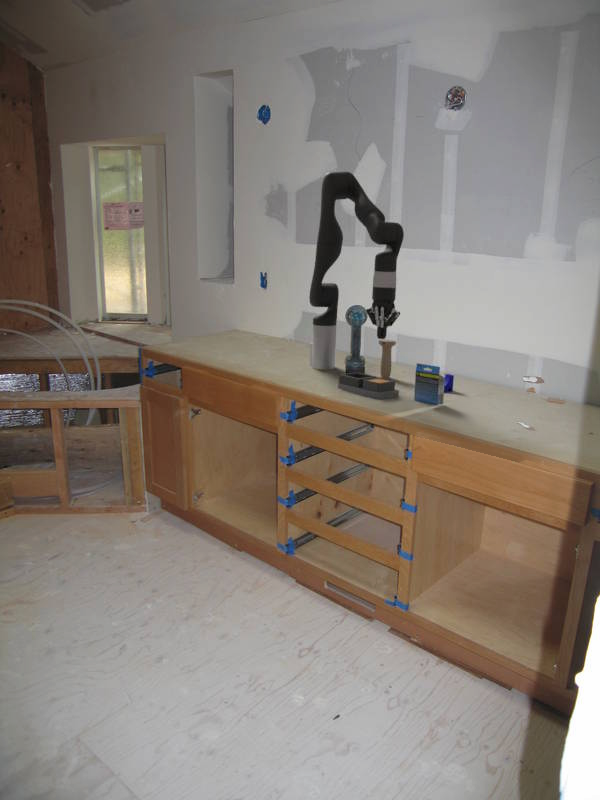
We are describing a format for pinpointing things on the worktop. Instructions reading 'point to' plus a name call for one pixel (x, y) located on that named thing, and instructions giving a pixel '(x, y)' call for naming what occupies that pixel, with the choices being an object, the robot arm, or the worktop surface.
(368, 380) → the button
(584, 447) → the worktop surface
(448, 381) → the blue curved piece
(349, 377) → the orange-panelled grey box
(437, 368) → the label tape box
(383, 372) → the handle
